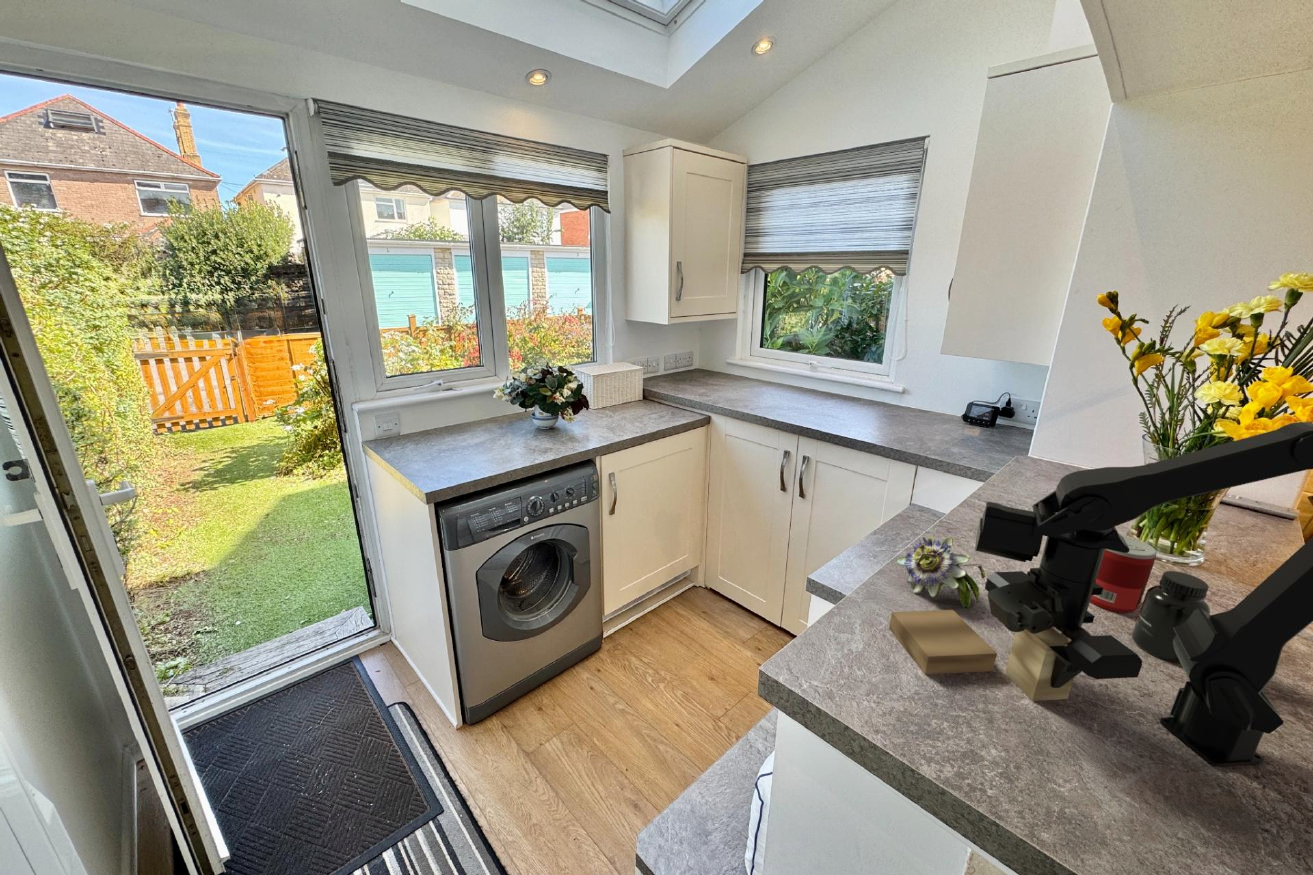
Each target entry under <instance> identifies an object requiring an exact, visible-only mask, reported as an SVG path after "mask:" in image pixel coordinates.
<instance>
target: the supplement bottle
mask: <svg viewBox="0 0 1313 875" xmlns="http://www.w3.org/2000/svg"><path fill="white" fill-rule="evenodd" d="M1158 584H1159V585H1154V586H1153V585H1152V586H1151V587H1149V588H1148V589H1147V591H1146V593H1145V595H1144V598H1143V601H1142V604H1141V606H1140V609H1139V612H1138V615H1137V618H1136V619H1135V620H1136V621H1135V623H1134V627H1133V629H1132V632H1131V638H1132V640H1133V642H1134V643H1135V645H1137V647H1139V648H1140V649H1142V650H1143V651H1144V652H1146V653H1148V654H1150V655H1152V656H1154V657H1156V658H1159V659H1162V660H1164V661H1169V662H1173V663H1174V662H1175V663H1180V661H1179V659H1178V657H1177V655H1176V653H1175V650H1174V647H1173V639H1174V637H1175V636H1176V635H1177V634H1176V632H1175V631H1174V629H1173V628H1174V627H1176V626H1179V625H1181V624H1183V623H1184V622H1186V621H1187V620H1188V619H1189V617H1190V616H1191V614H1192V613H1193V611H1195V610H1196V609H1197V608H1201V609H1203V610H1204V611H1206V612H1207V613H1209V614H1210V615H1211V609H1210V606H1209V604H1208V603H1207V602H1206V601H1205V600H1206V598H1207V596H1208V594H1207V593H1208V590H1209V589H1210V588H1209V584H1208V583H1207V582H1206V581H1205V580H1203V579H1201V578H1199V577H1197V576H1195V575H1192V574H1189V573H1186V572H1182V571H1178V570H1177V571H1175V570H1167V571H1164V572H1163V574H1162V575H1161V579H1160V580H1159V583H1158Z"/></svg>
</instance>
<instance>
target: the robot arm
mask: <svg viewBox="0 0 1313 875" xmlns="http://www.w3.org/2000/svg"><path fill="white" fill-rule="evenodd" d="M1308 470H1313V422H1306V421H1297V422H1292V423H1288V424H1285V425H1283V426H1280V428H1279V427H1278V428H1277V429H1274V430H1271V431H1266V432H1261V433H1260V434H1255V435H1252V436H1247V437H1244V438H1241V439H1237V440H1233V441H1229V442H1225V443H1222V444H1218V445H1215V446H1211V447H1207V448H1203V449H1200V450H1196V451H1192V452H1188V453H1186V454H1185V453H1184V454H1181V455H1177V456H1173V457H1170V458H1166V459H1162V460H1159V461H1155V462H1151V463H1148V464H1143V465H1135V466H1107V467H1106V466H1105V467H1099V468H1092V469H1091V468H1090V469H1083V470H1077V471H1073V472H1070V473H1068V474H1065V475H1064V476H1063V477H1062V478H1061V479H1060V481H1059V482H1058V484H1057V486H1056V489H1055V490H1054V491H1052V492H1051V493H1049V494H1048V495H1046V496H1045V497H1043V498H1042V499H1040V500H1038V501H1037V502H1036V503H1034V504H1033V505H1032V511H1031V510H1026V509H1021V508H1018V507H1017V508H1016V507H1012V506H1011V507H1010V506H1007V505H1003V504H1000V503H997V502H993V501H987V502H986V504H985V507H984V510H983V514H982V517H980V519H979V522H978V527H977V534H976V538H975V539H976V540H975V544H974V545H975V546H974V549H975V550H974V551H975V552H979V553H983V554H988V555H992V556H995V557H999V558H1000V557H1001V558H1004V559H1008V560H1014V561H1017V562H1021V563H1026V562H1032V561H1033V558H1037V557H1038V556H1039V553H1040V551H1041V546H1042V542H1043V537H1046V540H1045V544H1044V547H1043V552H1042V555H1041V560H1040V563H1039V566H1038V567H1034V568H1033V567H1031V568H1030V569H1029V571H1027V573H1026V572H1024V571H1023V570H1017V571H994V572H992V573H991V574H989V575H988V576H987V578H986V582H985V586H984V590H986V592H987V599H988V604H989V612H990V615H991V616H992V617H993V618H996V619H997V620H998V621H999V622H1000V623H1001V624H1003V625H1004V627H1005V629H1007V630H1008V631H1010V632H1013V633H1016V632H1021V631H1024V630H1025V629H1026V630H1028V631H1029V632H1030V633H1032V634H1036V633H1039V632H1042V631H1045V630H1048V629H1050V628H1051V627H1052V628H1053V629H1055V630H1056V631H1057V632H1058V633H1060V634H1064V635H1065V636H1066V637H1068V640H1067V643H1065V646H1050V649H1051V650H1052V651H1053V652H1054V653H1055V655H1056V659H1055V664H1054V668H1053V672H1052V676H1051V687H1053V688H1060V687H1062V686H1063V685H1064V684H1066V683H1067V682H1068V681H1070V680H1071V679H1072V678H1074V679H1075V677H1076V676H1078V675H1079V674H1081V673H1084V674H1085V675H1086V676H1087V677H1090V678H1093V679H1094V680H1105V679H1106V680H1110V679H1111V680H1112V679H1113V680H1116V679H1129V678H1130V679H1132V678H1139V674H1140V672H1141V669H1142V666H1143V660H1142V658H1141V657H1140V656H1139V655H1138V653H1136V652H1135V651H1133V649H1131V648H1129V647H1128V646H1126V645H1125V644H1123V642H1122V641H1120V640H1118V639H1117V638H1115V637H1114V636H1113V635H1111V634H1106V635H1098V634H1095V633H1092V632H1090V631H1088V630H1087V629H1085V628H1084V627H1083V624H1093V623H1094V621H1095V615H1094V614H1092V613H1091V612H1089V610H1088V609H1089V606H1090V604H1091V603H1090V599H1091V596H1092V595H1101V594H1102V591H1103V587H1102V586H1100V585H1099V584H1097V583H1096V579H1097V576H1098V573H1099V569H1100V566H1101V563H1102V559H1103V556H1104V553H1105V550H1106V549H1108V550H1113V551H1118V552H1122V553H1128V552H1129V551H1130V549H1129V547H1128V545H1127V543H1126V542H1125V540H1124V538H1123V537H1122V536H1123V535H1122V536H1121V534H1120V533H1119V532H1118V529H1117V528H1116V527H1118V526H1120V525H1123V524H1125V523H1128V522H1131V521H1134V520H1136V519H1138V518H1139V517H1141V516H1142V515H1144V514H1146V513H1147V512H1149V511H1150V510H1152V509H1154V508H1156V507H1159V506H1161V505H1164V504H1166V503H1167V504H1168V503H1169V502H1175V501H1178V500H1183V499H1188V498H1191V497H1196V496H1200V495H1204V494H1205V495H1206V494H1209V493H1214V492H1217V491H1221V490H1226V489H1231V488H1234V487H1239V486H1243V485H1248V484H1252V483H1255V482H1259V481H1260V482H1261V481H1264V480H1268V479H1273V478H1278V477H1281V476H1286V475H1291V474H1294V473H1300V472H1303V471H1308ZM1312 623H1313V536H1312V537H1311V538H1310V539H1309V540H1307V541H1306V543H1304V544H1303V545H1302V546H1301V547H1300V548H1298V550H1297V551H1295V552H1294V553H1293V554H1292V555H1291V556H1290V557H1288V559H1286V560H1285V561H1284V562H1283V563H1282V564H1281V565H1280V566H1279V567H1278V568H1276V569H1275V570H1274V571H1273V572H1272V573H1270V575H1269V576H1267V577H1266V578H1265V579H1264V580H1263V581H1262V582H1261V583H1260V584H1258V586H1257V587H1255V588H1254V589H1253V590H1252V591H1251V592H1250V593H1248V595H1246V596H1245V597H1244V598H1243V599H1242V600H1241V601H1240V602H1239V603H1237V604H1236V605H1235V606H1234V607H1233V608H1231V609H1229V610H1227V611H1222V612H1219V613H1214V614H1211V613H1210V614H1209V613H1207V612H1206V611H1204V610H1203V609H1201V608H1197V609H1196V610H1195V611H1193V613H1192V614H1191V616H1190V617H1189V619H1188V620H1187V621H1186V622H1184V623H1183V624H1181V625H1179V626H1176V627H1174V628H1173V629H1174V631H1175V632H1176V634H1177V635H1176V636H1175V637H1174V639H1173V647H1174V650H1175V653H1176V655H1177V657H1178V659H1179V661H1180V662H1179V663H1180V664H1181V667H1182V668H1183V670H1184V672H1185V674H1186V677H1187V678H1188V680H1189V681H1186V682H1185V684H1184V687H1180V688H1178V692H1177V693H1176V696H1175V699H1174V702H1173V704H1172V706H1171V709H1170V711H1169V712H1170V713H1169V714H1170V716H1169V717H1168V716H1166V717H1160V719H1159V723H1160V724H1161V725H1162V726H1164V727H1165V728H1166V729H1167V730H1168V731H1170V732H1171V733H1172V734H1173V735H1175V736H1176V737H1177V738H1179V740H1181V741H1182V742H1183V743H1184V744H1185V745H1187V746H1188V747H1189V748H1190V749H1192V750H1193V751H1194V752H1195V753H1197V754H1198V755H1199V756H1200V757H1202V758H1203V759H1204V760H1205V761H1206V762H1207V763H1209V764H1211V765H1212V766H1214V767H1226V766H1245V765H1256V764H1257V765H1258V764H1263V763H1264V760H1265V758H1264V757H1263V756H1261V754H1260V755H1259V753H1257V748H1258V746H1259V744H1260V743H1261V740H1262V738H1263V736H1264V733H1265V734H1271V733H1273V732H1275V730H1277V729H1278V728H1280V727H1281V726H1282V725H1284V723H1285V722H1284V720H1283V718H1282V716H1281V715H1280V714H1279V712H1278V711H1277V709H1276V708H1275V707H1274V705H1273V703H1272V702H1271V701H1270V699H1269V698H1268V696H1267V694H1266V693H1265V692H1264V689H1265V688H1266V686H1267V685H1268V684H1269V683H1270V681H1271V680H1272V679H1273V678H1274V676H1275V674H1276V671H1277V668H1278V664H1279V661H1280V658H1281V655H1282V652H1283V649H1284V647H1285V646H1286V644H1288V643H1289V642H1290V641H1291V640H1292V639H1294V638H1295V637H1296V636H1297V635H1298V634H1300V633H1301V632H1302V631H1303V630H1305V629H1306V628H1307V627H1308V626H1309V625H1311V624H1312Z"/></svg>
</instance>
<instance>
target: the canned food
mask: <svg viewBox="0 0 1313 875" xmlns="http://www.w3.org/2000/svg"><path fill="white" fill-rule="evenodd" d="M1120 535H1121V534H1120ZM1121 536H1122V537H1123V538H1124V540H1125V542H1126V543H1127V545H1128V547H1129V549H1130V551H1129V552H1128V553H1122V552H1118V551H1113V550H1108V549H1106V550H1105V553H1104V556H1103V559H1102V563H1101V566H1100V569H1099V573H1098V576H1097V579H1096V583H1097V584H1099V585H1100V586H1102V587H1103V591H1102V594H1101V595H1092V596H1091V599H1090V603H1089V604H1092V605H1094V606H1096V607H1098V608H1102V609H1104V610H1107V611H1111V612H1114V613H1120V614H1122V613H1123V614H1130V613H1131V614H1132V613H1135V612H1136V611H1137V609H1138V608H1139V607H1141V606H1140V605H1141V602H1142V600H1143V596H1144V594H1145V591H1146V588H1147V585H1148V581H1149V578H1150V577H1151V576H1150V575H1151V572H1152V571H1153V567H1154V564H1155V561H1156V558H1157V553H1158V552H1157V550H1156V548H1155V547H1153V546H1151V545H1150V544H1148V543H1146V542H1144V541H1142V540H1139V539H1136V538H1132V537H1130V536H1126V535H1121Z"/></svg>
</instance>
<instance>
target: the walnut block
mask: <svg viewBox="0 0 1313 875" xmlns="http://www.w3.org/2000/svg"><path fill="white" fill-rule="evenodd" d="M888 629H889V630H890V631H891V633H892V634H893V635H894V636H896V637H895V638H896V640H897V641H898V642H899V643H900V644H901V646H902V647H903V648H904V650H905V651H906V652H907V653H908V655H909V656H910V657H911V659H912V660H913V662H915V664H917V666H918V667H919V669H920V670H921V671H922V673H923V674H924V675H938V674H939V675H940V674H942V675H945V674H959V673H961V674H962V673H982V672H984V673H985V672H993V671H994V667H995V663H996V659H997V656H998V655H997V654H998V652H996V651H995V650H994V649H993V648H992V647H991V646H990V645H989V644H988V643H987V642H986V641H985V640H984V639H983V638H982V637H981V636H980V635H979V634H978V633H977V632H976V631H975V630H974V629H973V628H972V627H971V626H970V625H969V624H968V623H967V622H966V621H965V620H964V619H963V618H962V617H961V616H960V615H959V614H958V613H957V612H956V611H955V610H953V609H944V610H943V609H940V610H939V609H937V610H935V609H934V610H918V611H917V610H916V611H915V610H914V611H910V610H909V611H891V616H890V623H889V627H888Z"/></svg>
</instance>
